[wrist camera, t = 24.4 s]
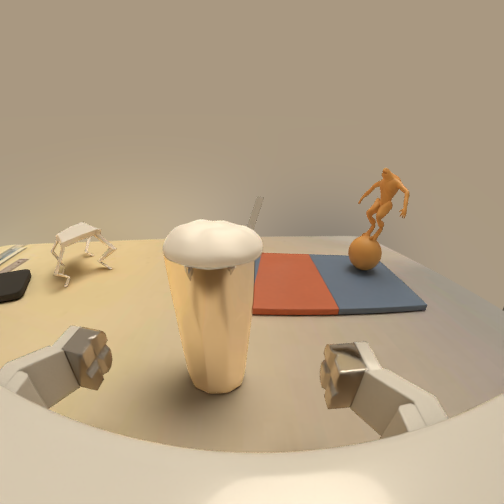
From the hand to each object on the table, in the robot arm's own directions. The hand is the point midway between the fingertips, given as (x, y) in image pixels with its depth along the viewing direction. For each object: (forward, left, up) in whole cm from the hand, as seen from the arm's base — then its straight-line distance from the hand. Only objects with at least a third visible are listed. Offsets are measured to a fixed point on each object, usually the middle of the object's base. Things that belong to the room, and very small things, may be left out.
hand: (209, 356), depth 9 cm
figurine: (-16, -21, -5) cm, 27 cm away
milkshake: (0, -5, -6) cm, 7 cm away
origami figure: (+19, -20, -6) cm, 28 cm away
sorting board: (-9, -19, -5) cm, 21 cm away
